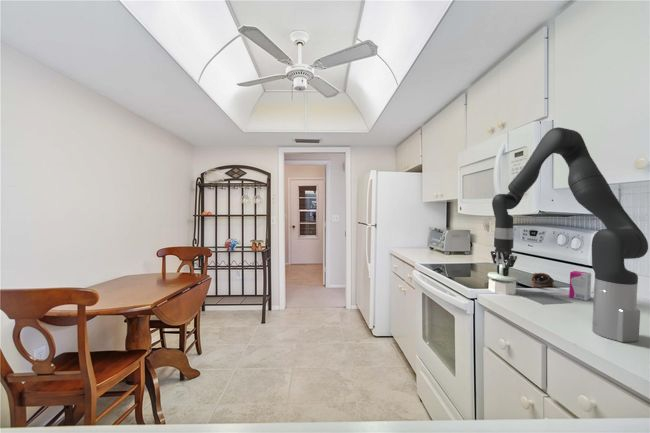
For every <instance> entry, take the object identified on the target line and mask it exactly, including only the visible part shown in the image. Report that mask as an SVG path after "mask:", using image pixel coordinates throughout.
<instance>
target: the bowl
mask: <svg viewBox="0 0 650 433" xmlns="http://www.w3.org/2000/svg"><path fill="white" fill-rule="evenodd" d="M487 288H488V291H490V292H492V293H494V294H500V295H506V296H509V295H516V294H515V293H517V281H501V280H495V279H492V278H489V277H488V287H487Z"/></svg>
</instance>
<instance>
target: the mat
mask: <svg viewBox="0 0 650 433" xmlns="http://www.w3.org/2000/svg"><path fill="white" fill-rule="evenodd" d="M514 295H517V296H519V297H523V298H524V299H525V298H526V299H527V300H530V301H533V302H534V303H535V302H536V303H538V304H541V305H543V306H544V305H560V304H561V305H563V304H573V303H574V302H572V301H569V300H566V299H563V298H561V297H558V296H555V295H553V294H549V293H546V292H543V291H534V292H531V291H530V292H516V293H515V294H514Z"/></svg>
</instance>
